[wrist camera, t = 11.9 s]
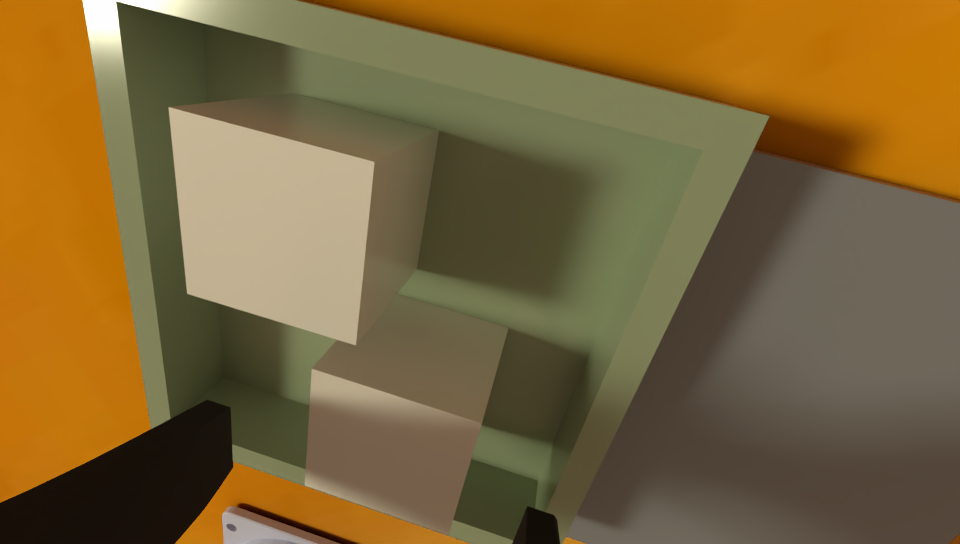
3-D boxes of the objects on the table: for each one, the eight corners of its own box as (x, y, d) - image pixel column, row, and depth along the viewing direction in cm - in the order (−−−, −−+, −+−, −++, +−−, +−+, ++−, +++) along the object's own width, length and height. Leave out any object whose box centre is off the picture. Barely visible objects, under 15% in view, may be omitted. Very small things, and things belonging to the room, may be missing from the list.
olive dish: (554, 488, 17) (549, 570, 14) (216, 377, 18) (151, 433, 15) (722, 102, 11) (769, 116, 8) (190, -28, 12) (74, -54, 9)
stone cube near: (416, 269, 13) (356, 345, 10) (290, 232, 14) (187, 293, 10) (439, 130, 11) (374, 161, 8) (292, 92, 12) (168, 106, 8)
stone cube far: (480, 425, 15) (448, 535, 12) (368, 388, 16) (304, 485, 12) (508, 327, 13) (481, 423, 10) (381, 289, 14) (311, 368, 10)
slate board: (837, 607, 16) (849, 632, 16) (563, 515, 17) (562, 535, 16) (1199, 260, 10) (1248, 275, 9) (736, 144, 11) (747, 150, 10)
